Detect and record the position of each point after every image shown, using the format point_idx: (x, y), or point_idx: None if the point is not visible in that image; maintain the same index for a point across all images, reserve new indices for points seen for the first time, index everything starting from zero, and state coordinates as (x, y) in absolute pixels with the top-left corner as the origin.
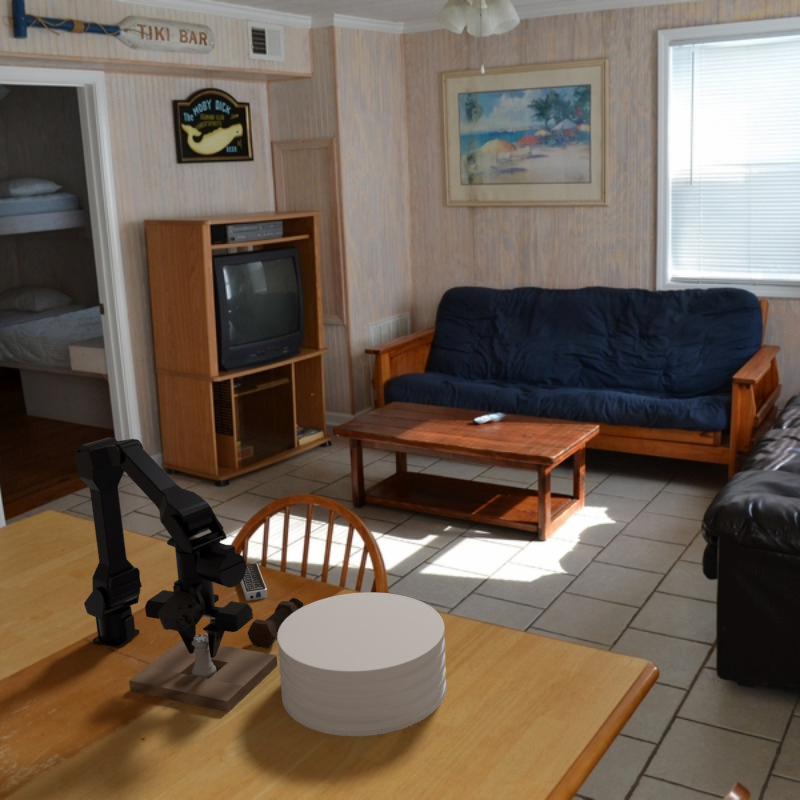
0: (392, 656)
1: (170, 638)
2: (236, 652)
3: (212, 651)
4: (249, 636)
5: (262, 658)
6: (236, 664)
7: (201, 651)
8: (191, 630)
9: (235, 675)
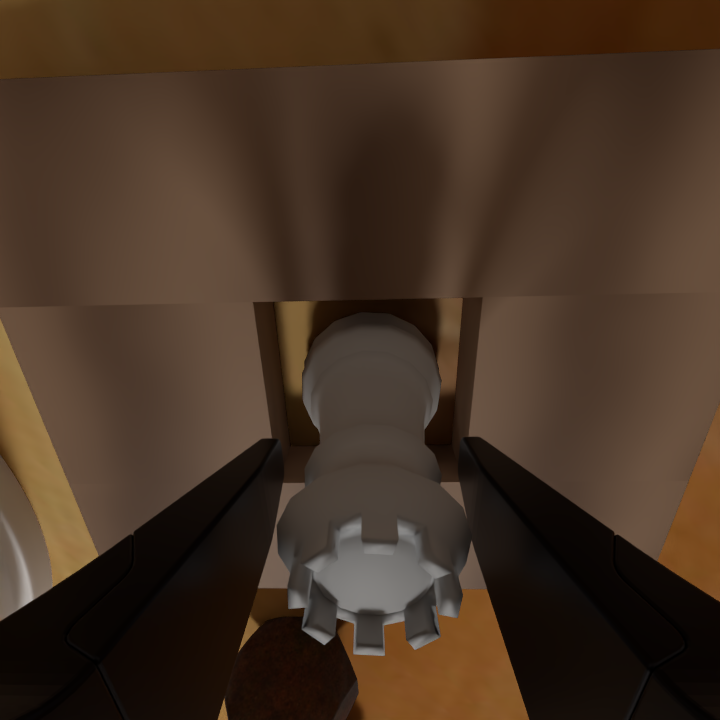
0: None
1: (713, 581)
2: None
3: (223, 470)
4: (343, 662)
5: None
6: None
7: (339, 450)
8: (544, 671)
9: (138, 389)
